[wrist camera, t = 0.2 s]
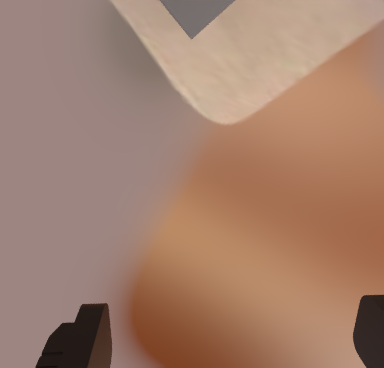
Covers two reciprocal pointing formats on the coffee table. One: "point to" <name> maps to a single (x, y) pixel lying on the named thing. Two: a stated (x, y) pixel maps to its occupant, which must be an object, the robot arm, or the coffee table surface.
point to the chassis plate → (195, 13)
